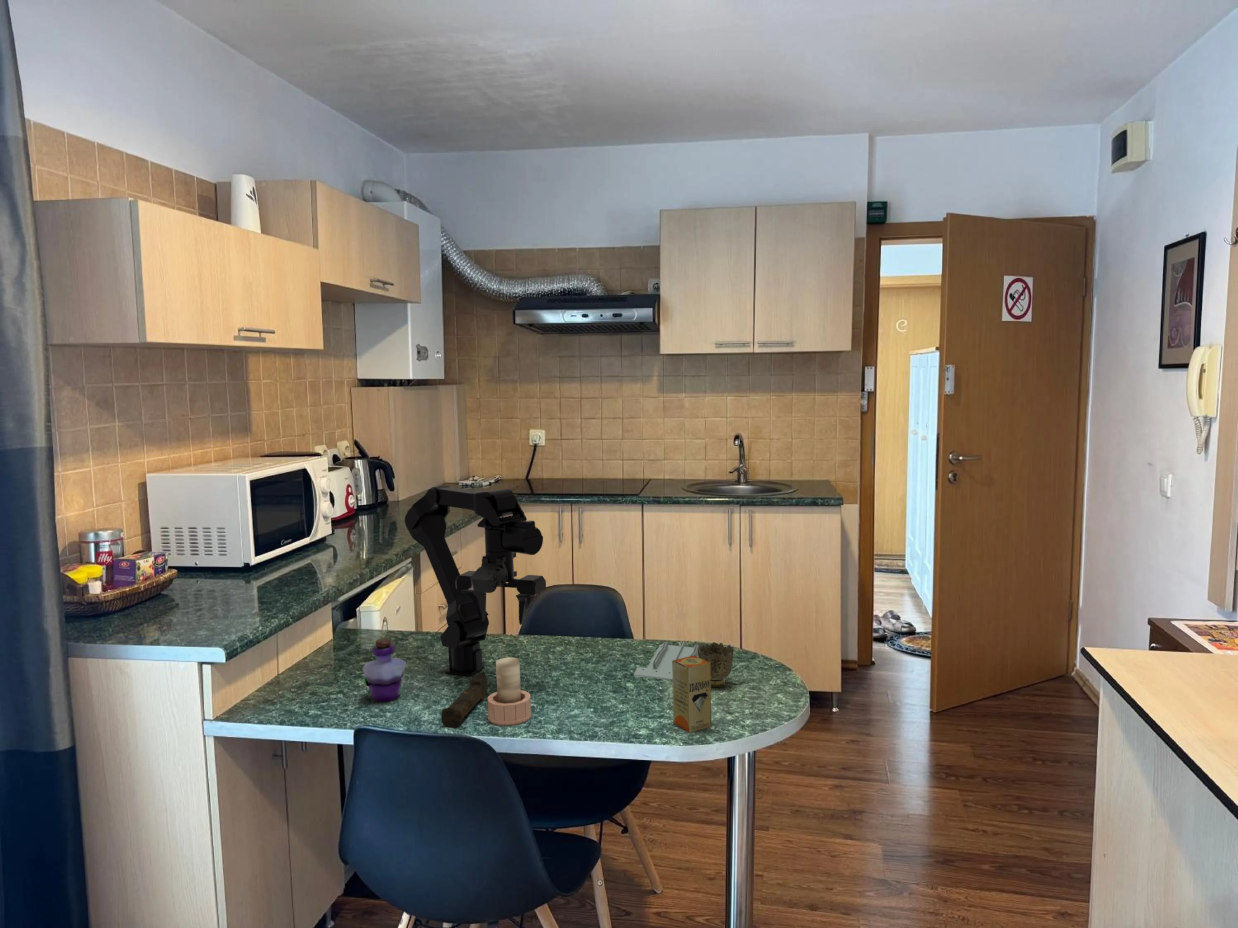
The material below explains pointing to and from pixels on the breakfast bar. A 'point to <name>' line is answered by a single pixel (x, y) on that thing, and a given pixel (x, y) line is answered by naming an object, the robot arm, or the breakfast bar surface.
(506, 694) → the birch peg
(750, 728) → the breakfast bar surface
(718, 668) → the brown speckled footed container
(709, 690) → the shoe polish box
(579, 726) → the breakfast bar surface
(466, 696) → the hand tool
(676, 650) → the metal bracket
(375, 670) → the potion bottle
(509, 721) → the terracotta cup
